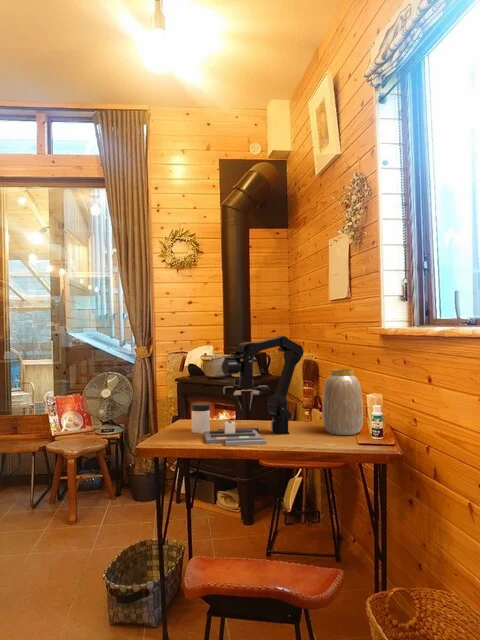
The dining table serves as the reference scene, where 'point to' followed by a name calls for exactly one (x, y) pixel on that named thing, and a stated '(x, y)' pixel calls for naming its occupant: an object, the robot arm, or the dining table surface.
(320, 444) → the dining table surface
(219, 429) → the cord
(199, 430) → the jar
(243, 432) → the breaker panel
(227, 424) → the breaker lever
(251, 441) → the grey flat bar
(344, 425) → the vase
